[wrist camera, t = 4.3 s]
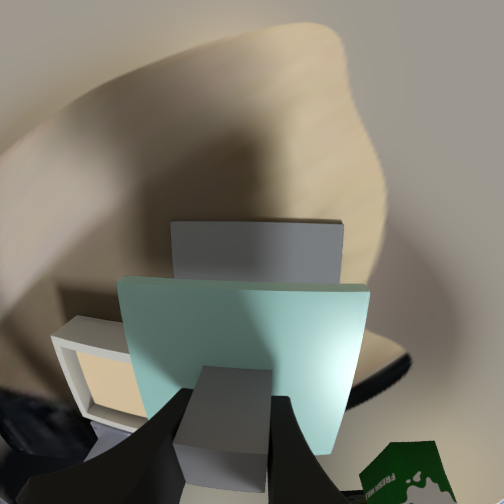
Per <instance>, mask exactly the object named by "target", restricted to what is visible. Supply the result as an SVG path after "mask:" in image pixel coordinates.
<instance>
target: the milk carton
mask: <svg viewBox="0 0 504 504" xmlns="http://www.w3.org/2000/svg"><path fill="white" fill-rule="evenodd" d="M359 477H360V480H361V483H362V487H363V491H364V494H365V498H366V501H367V504H457V501H456V499H455V496H454V494H453V491H452V489H451V486H450V484H449V481H448V479H447V476H446V474H445V471H444V468H443V465H442V462H441V459H440V456H439V452H438V449H437V446H436V443H435V441H420V442H390V443H389V445H388V446H387V447H386V448H385V449H384V450H383V451H382V452H381V453H380V454H379V455H378V456H377V457H376V458H375V459H374V460H373V461H372V462H371V463H370V465H369V466H367V467H366V468H365V469H364V470H363V471H362V472H361V473H360V474H359Z"/></svg>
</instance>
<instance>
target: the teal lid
mask: <svg viewBox="0 0 504 504" xmlns="http://www.w3.org/2000/svg"><path fill="white" fill-rule="evenodd" d="M116 284H117V291H118V298H119V304H120V309H121V315H122V320H123V326H124V331H125V335H126V340H127V345H128V349H129V353H130V358H131V362H132V366H133V370H134V373H135V377H136V381H137V385H138V388H139V392H140V395H141V398H142V402H143V405H144V408H145V411H146V414H147V417H148V420H149V419H150V418H151V417H153V416H154V415H155V414H156V413H157V412H158V411H159V410H160V409H161V408H162V407H163V406H164V405H165V404H166V403H167V402H168V401H169V400H170V399H171V398H172V397H173V396H174V395H175V394H176V393H177V392H178V391H179V390H180V389H181V388H189V389H194V391H193V393H192V396H191V398H190V401H189V403H188V406H187V408H186V411H185V413H184V416H183V418H182V421H181V423H180V426H179V428H178V431H177V433H176V436H175V438H174V441H173V446H174V449H175V452H176V455H177V458H178V461H179V464H180V467H181V469H182V472H183V475H184V478H185V480H186V483H187V484H191V485H196V486H202V487H209V488H216V489H224V490H233V491H244V492H259V493H264V492H265V482H266V471H267V460H268V446H269V429H270V410H271V395H275V396H288V397H290V399H291V404H292V408H293V411H294V414H295V417H296V419H297V422H298V424H299V427H300V429H301V431H302V433H303V435H304V437H305V439H306V441H307V443H308V445H309V447H310V449H311V451H312V452H313V454H314V455H323V454H324V455H325V454H331V451H332V449H333V446H334V443H335V440H336V437H337V433H338V431H339V428H340V424H341V421H342V418H343V414H344V411H345V408H346V404H347V401H348V397H349V393H350V390H351V386H352V382H353V378H354V374H355V370H356V365H357V361H358V357H359V352H360V347H361V342H362V337H363V332H364V327H365V322H366V316H367V310H368V304H369V297H370V291H369V290H368V288H367V287H366V286H365V285H364V284H321V283H271V282H240V281H214V280H192V279H173V278H156V277H139V276H125V277H123V278H122V279H120V280H119V281H117V282H116Z"/></svg>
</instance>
